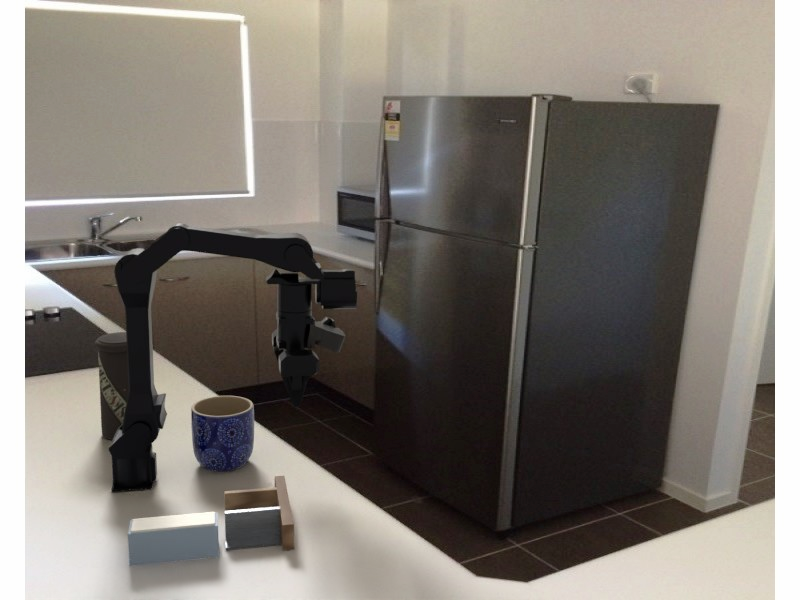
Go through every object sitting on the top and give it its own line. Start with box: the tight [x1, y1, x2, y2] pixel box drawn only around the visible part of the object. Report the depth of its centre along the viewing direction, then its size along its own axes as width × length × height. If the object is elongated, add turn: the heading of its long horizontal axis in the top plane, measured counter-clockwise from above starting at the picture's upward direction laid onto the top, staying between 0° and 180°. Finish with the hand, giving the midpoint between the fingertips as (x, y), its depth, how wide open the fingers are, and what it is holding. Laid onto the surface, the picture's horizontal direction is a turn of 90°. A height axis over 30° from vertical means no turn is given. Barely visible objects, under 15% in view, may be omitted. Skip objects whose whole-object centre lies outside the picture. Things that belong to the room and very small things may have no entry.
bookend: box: [224, 506, 282, 551], centre depth 111 cm, size 8×3×4 cm, turn 103°
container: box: [94, 331, 129, 441], centre depth 148 cm, size 9×9×20 cm
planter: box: [190, 395, 255, 473], centre depth 136 cm, size 11×11×11 cm
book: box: [127, 511, 220, 567], centre depth 108 cm, size 12×4×5 cm, turn 104°
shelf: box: [224, 475, 295, 551], centre depth 116 cm, size 10×16×4 cm, turn 13°
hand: (294, 397), depth 131 cm, fingers open, 9 cm apart
